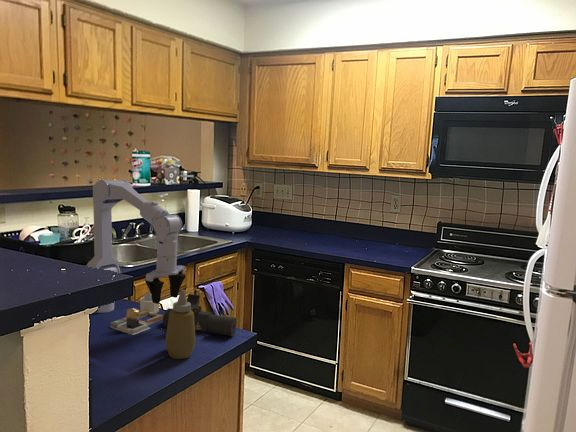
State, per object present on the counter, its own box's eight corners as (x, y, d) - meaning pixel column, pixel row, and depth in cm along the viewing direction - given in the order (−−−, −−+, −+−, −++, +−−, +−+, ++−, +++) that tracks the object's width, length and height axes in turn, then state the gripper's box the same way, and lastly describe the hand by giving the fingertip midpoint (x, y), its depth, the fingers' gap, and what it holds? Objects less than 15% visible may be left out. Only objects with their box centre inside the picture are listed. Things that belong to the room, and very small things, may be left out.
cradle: (108, 330, 141) (109, 322, 141) (127, 323, 148) (127, 316, 147) (133, 338, 137) (133, 330, 136) (150, 331, 143) (151, 323, 143)
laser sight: (228, 342, 139) (230, 309, 138) (156, 332, 143) (158, 300, 142) (237, 330, 149) (239, 300, 147) (170, 321, 152) (171, 291, 151)
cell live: (123, 328, 141) (124, 309, 140) (132, 325, 144) (133, 306, 143) (132, 331, 139) (132, 311, 138) (141, 327, 142) (142, 308, 142)
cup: (136, 313, 157) (136, 299, 156) (149, 309, 162) (149, 295, 161) (149, 317, 154) (149, 302, 153) (162, 313, 159) (163, 298, 158)
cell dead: (141, 311, 157) (142, 293, 156) (149, 308, 160) (150, 291, 159) (149, 313, 155) (150, 295, 155) (157, 310, 159) (158, 293, 158)
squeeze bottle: (198, 359, 126) (202, 293, 124) (168, 363, 123) (171, 296, 120) (190, 347, 133) (193, 285, 131) (161, 351, 130) (163, 287, 127)
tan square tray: (129, 323, 148) (129, 316, 148) (147, 316, 155) (148, 309, 155) (146, 328, 144) (146, 321, 144) (164, 321, 151) (165, 314, 151)
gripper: (159, 261, 132) (157, 308, 134) (193, 253, 145) (191, 296, 146) (141, 257, 135) (139, 303, 137) (175, 250, 148) (173, 292, 150)
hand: (165, 299), depth 142 cm, fingers open, 7 cm apart
